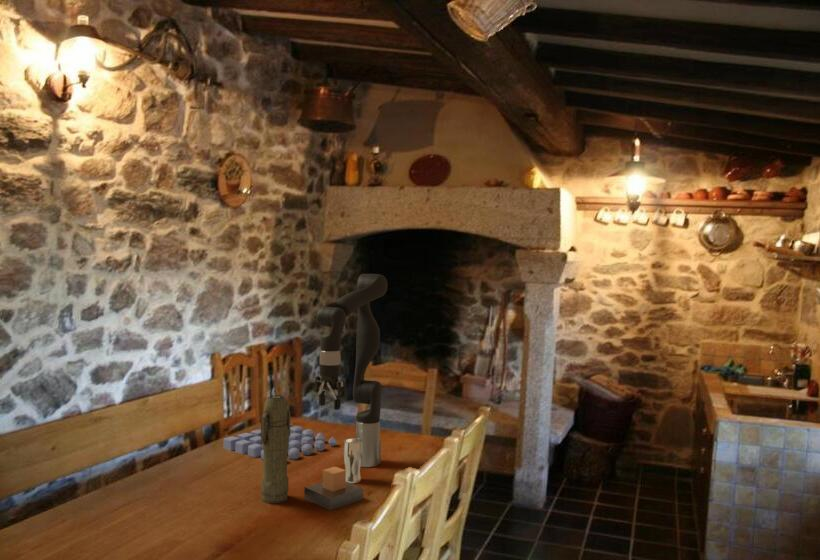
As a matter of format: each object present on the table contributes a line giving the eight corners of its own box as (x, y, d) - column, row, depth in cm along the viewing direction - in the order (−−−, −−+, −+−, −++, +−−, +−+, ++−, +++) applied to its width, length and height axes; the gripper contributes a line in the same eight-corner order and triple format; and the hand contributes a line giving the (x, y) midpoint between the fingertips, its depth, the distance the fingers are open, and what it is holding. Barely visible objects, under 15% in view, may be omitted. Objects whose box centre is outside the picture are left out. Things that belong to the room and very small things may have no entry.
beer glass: (358, 484, 253) (359, 443, 252) (340, 482, 254) (341, 442, 253) (364, 478, 260) (364, 438, 259) (346, 476, 261) (346, 437, 260)
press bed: (336, 489, 248) (336, 477, 248) (362, 499, 238) (362, 488, 238) (304, 498, 238) (304, 487, 238) (330, 510, 228) (330, 498, 228)
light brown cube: (334, 483, 242) (335, 466, 241) (345, 487, 238) (345, 470, 238) (322, 487, 238) (322, 470, 237) (333, 491, 234) (333, 473, 234)
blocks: (284, 433, 321) (284, 422, 321) (340, 447, 300) (340, 436, 300) (223, 449, 293) (223, 438, 292) (280, 467, 272) (280, 454, 272)
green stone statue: (296, 495, 240) (297, 395, 238) (273, 506, 230) (274, 401, 228) (276, 490, 245) (277, 391, 243) (253, 501, 234) (254, 398, 233)
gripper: (351, 364, 248) (350, 409, 249) (326, 358, 258) (325, 402, 259) (334, 366, 243) (333, 412, 244) (309, 361, 253) (309, 405, 254)
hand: (329, 407), depth 251 cm, fingers open, 8 cm apart
